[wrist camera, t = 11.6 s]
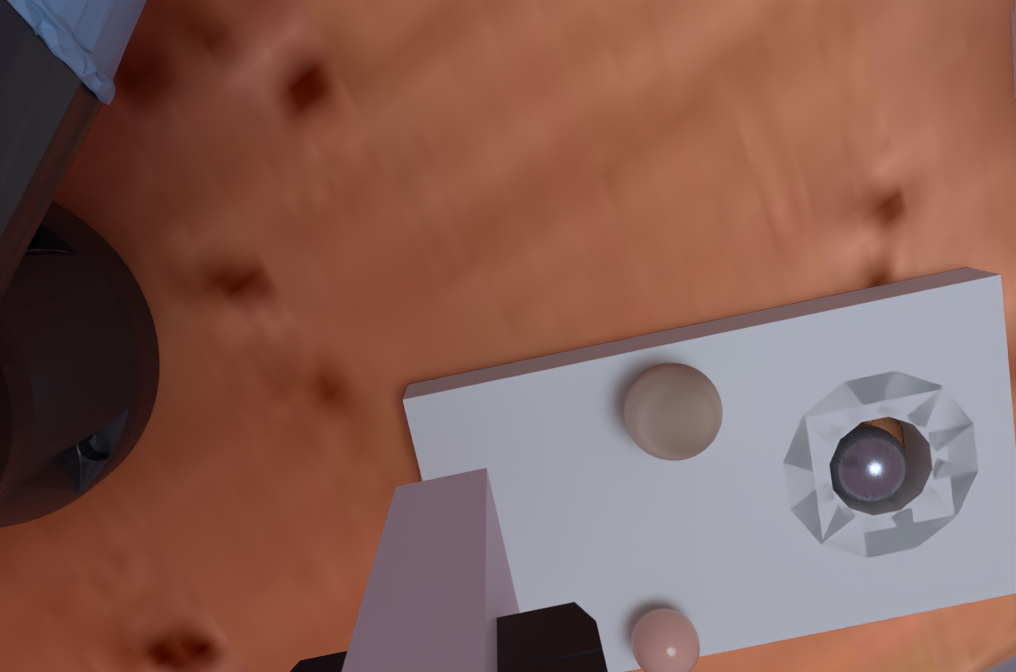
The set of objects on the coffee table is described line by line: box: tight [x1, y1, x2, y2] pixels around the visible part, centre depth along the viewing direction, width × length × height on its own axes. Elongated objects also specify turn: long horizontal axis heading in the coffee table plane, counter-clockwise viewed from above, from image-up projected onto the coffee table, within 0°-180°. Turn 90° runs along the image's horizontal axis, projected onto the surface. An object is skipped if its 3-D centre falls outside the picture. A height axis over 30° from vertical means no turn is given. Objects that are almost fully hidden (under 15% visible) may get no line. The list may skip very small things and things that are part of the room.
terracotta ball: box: [631, 608, 700, 672], centre depth 36 cm, size 3×3×3 cm
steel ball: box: [829, 425, 908, 503], centre depth 37 cm, size 4×4×4 cm
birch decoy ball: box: [623, 363, 723, 461], centre depth 34 cm, size 4×4×4 cm
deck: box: [403, 267, 1016, 672], centre depth 38 cm, size 26×15×2 cm, turn 102°
